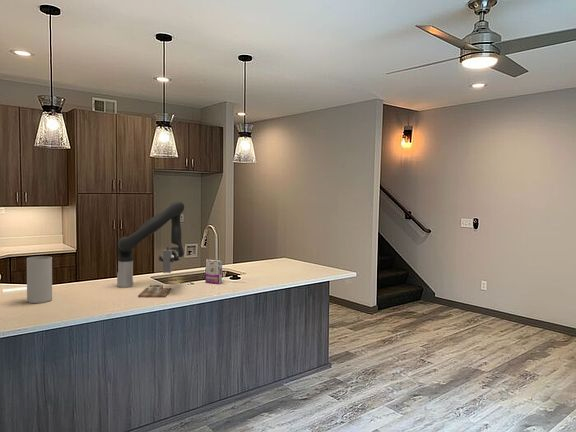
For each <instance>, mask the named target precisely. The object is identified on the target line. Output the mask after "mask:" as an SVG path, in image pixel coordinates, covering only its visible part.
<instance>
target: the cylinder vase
mask: <svg viewBox="0 0 576 432" xmlns="http://www.w3.org/2000/svg"><path fill="white" fill-rule="evenodd" d="M52 300H53V257H52V256H48V255H45V256H44V255H41V256H40V255H39V256H29V257H27V258H26V301H27V303H29V304H44V303H48V302H51V301H52Z"/></svg>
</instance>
